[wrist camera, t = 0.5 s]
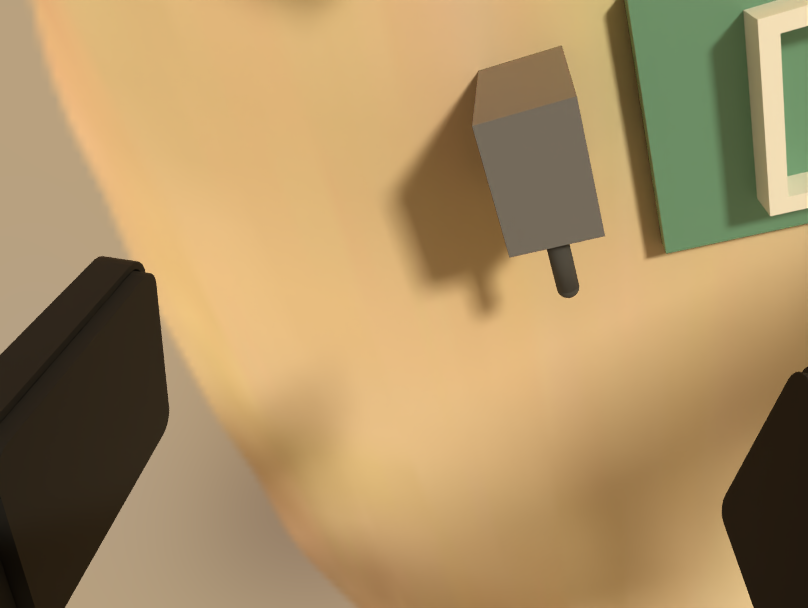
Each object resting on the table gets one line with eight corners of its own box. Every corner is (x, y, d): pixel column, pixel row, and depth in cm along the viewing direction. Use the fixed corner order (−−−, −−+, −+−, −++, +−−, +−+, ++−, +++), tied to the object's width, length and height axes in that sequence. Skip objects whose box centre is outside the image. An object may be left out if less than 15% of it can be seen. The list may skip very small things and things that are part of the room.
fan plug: (561, 45, 32) (576, 96, 25) (598, 222, 37) (618, 304, 30) (478, 70, 33) (471, 125, 26) (524, 239, 38) (528, 322, 31)
